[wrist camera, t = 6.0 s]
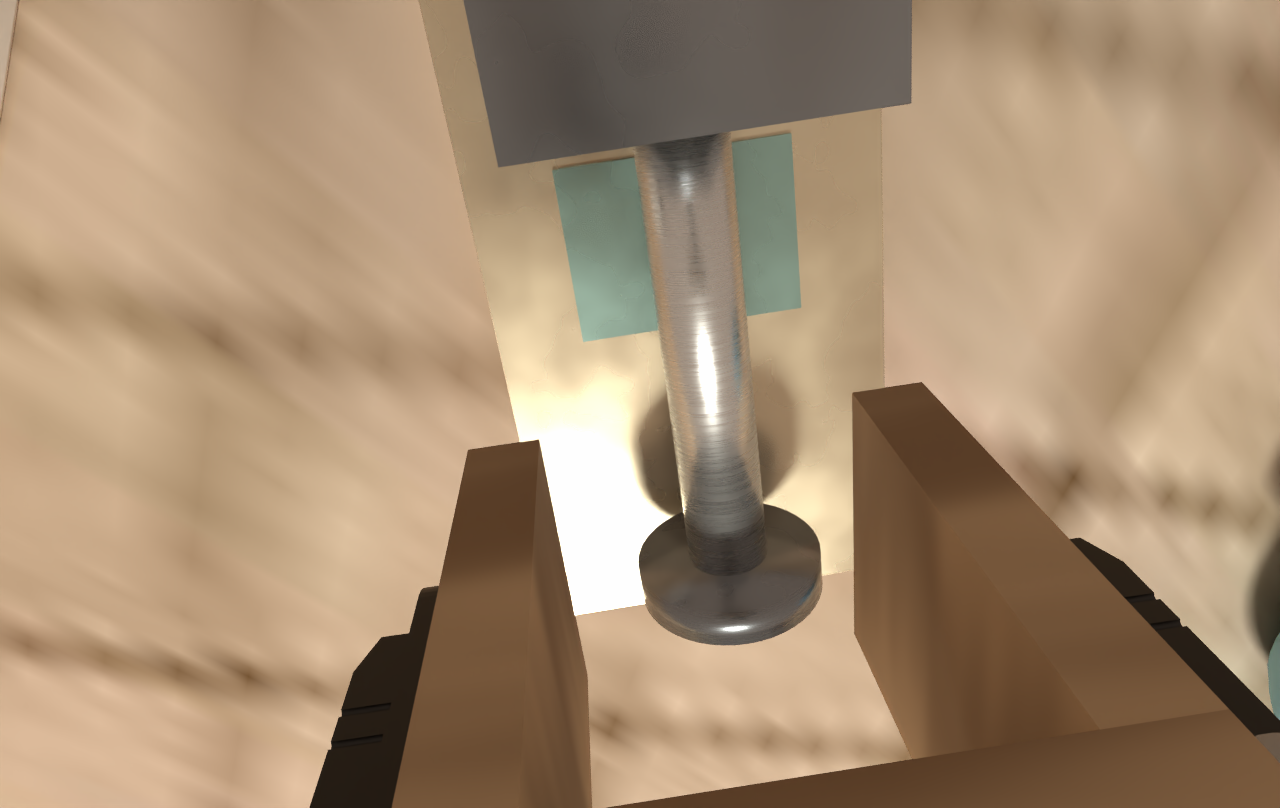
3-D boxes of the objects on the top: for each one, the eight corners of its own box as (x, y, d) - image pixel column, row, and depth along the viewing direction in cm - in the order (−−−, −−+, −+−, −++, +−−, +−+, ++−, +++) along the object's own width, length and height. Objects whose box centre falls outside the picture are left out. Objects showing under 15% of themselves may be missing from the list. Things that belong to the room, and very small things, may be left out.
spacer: (468, 449, 10) (341, 1044, 4) (922, 382, 10) (1386, 875, 5) (526, 683, 12) (491, 1332, 6) (913, 624, 12) (1241, 1206, 6)
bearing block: (366, -261, 20) (227, -448, 12) (859, -336, 20) (1050, -571, 12) (560, 596, 31) (556, 795, 23) (875, 546, 31) (979, 728, 23)
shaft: (536, -51, 21) (523, -73, 16) (757, -85, 21) (816, -118, 16) (637, 544, 28) (650, 659, 23) (797, 519, 28) (845, 628, 23)
